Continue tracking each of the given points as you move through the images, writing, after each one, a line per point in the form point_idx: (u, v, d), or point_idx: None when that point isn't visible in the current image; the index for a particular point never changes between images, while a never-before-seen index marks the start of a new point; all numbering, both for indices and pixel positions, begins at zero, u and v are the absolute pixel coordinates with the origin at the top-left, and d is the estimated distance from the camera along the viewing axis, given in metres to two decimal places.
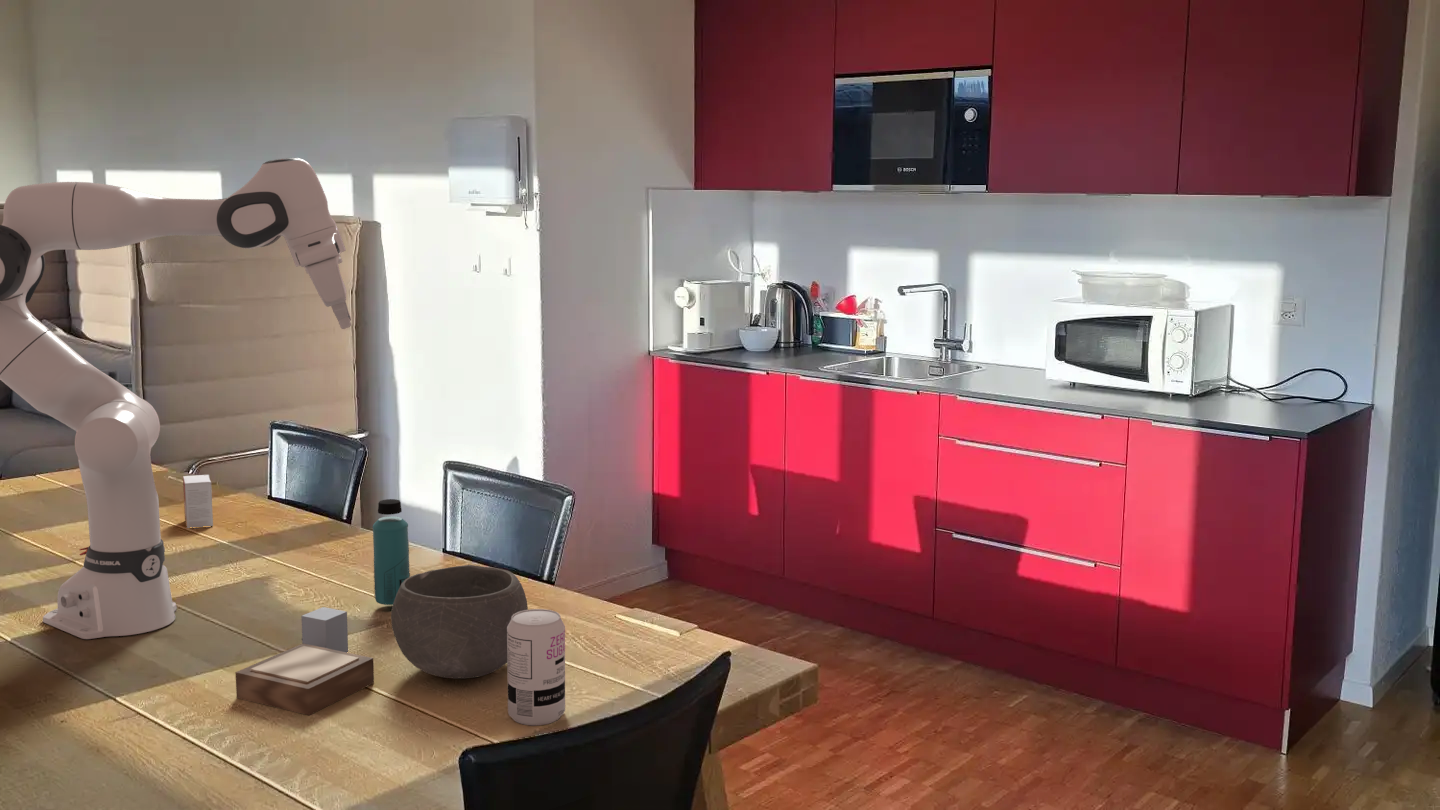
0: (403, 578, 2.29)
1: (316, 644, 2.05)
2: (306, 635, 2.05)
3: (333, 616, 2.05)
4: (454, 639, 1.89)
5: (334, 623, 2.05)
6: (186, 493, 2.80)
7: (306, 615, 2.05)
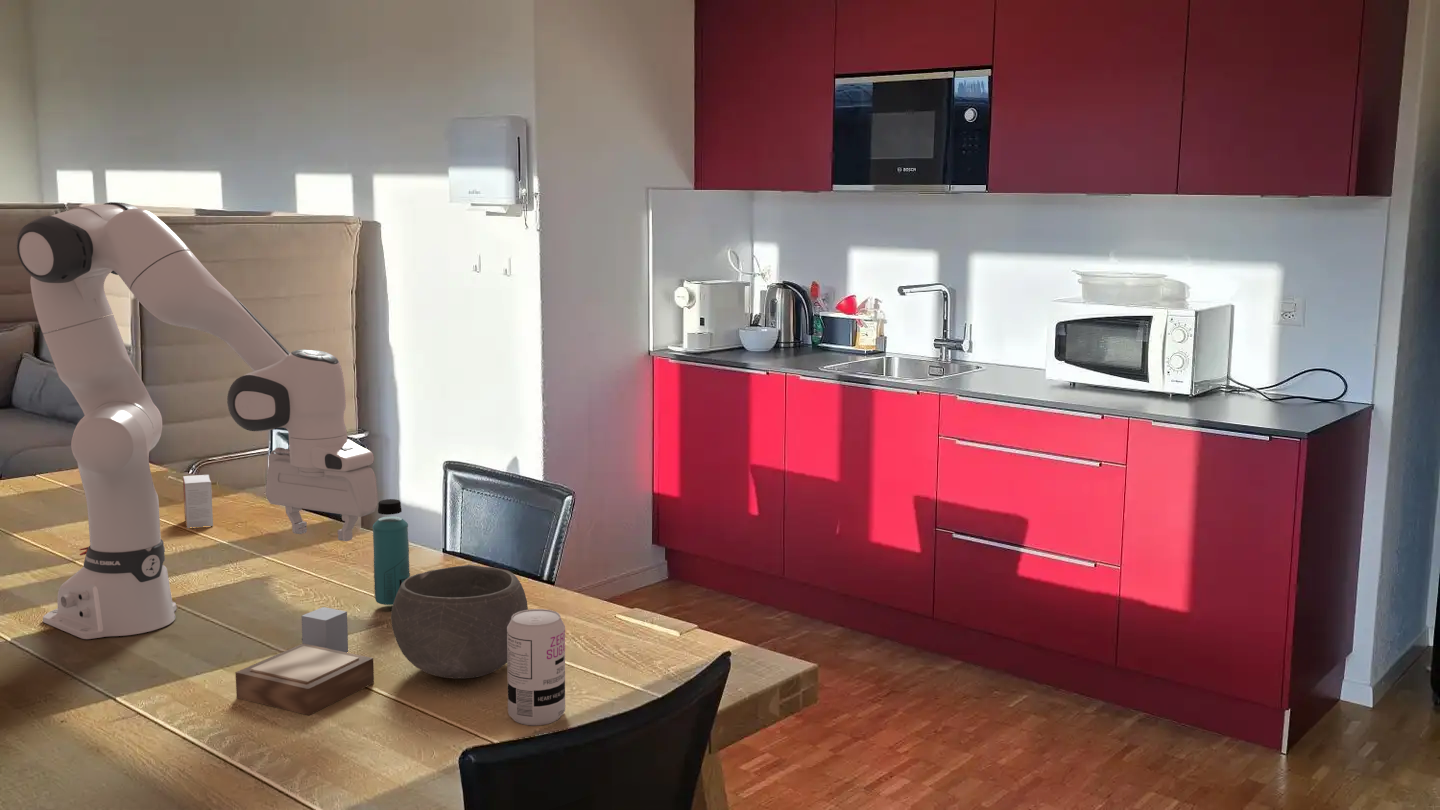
0: (403, 578, 2.29)
1: (316, 644, 2.05)
2: (306, 635, 2.05)
3: (333, 616, 2.05)
4: (454, 639, 1.89)
5: (335, 623, 2.05)
6: (186, 493, 2.80)
7: (306, 615, 2.05)
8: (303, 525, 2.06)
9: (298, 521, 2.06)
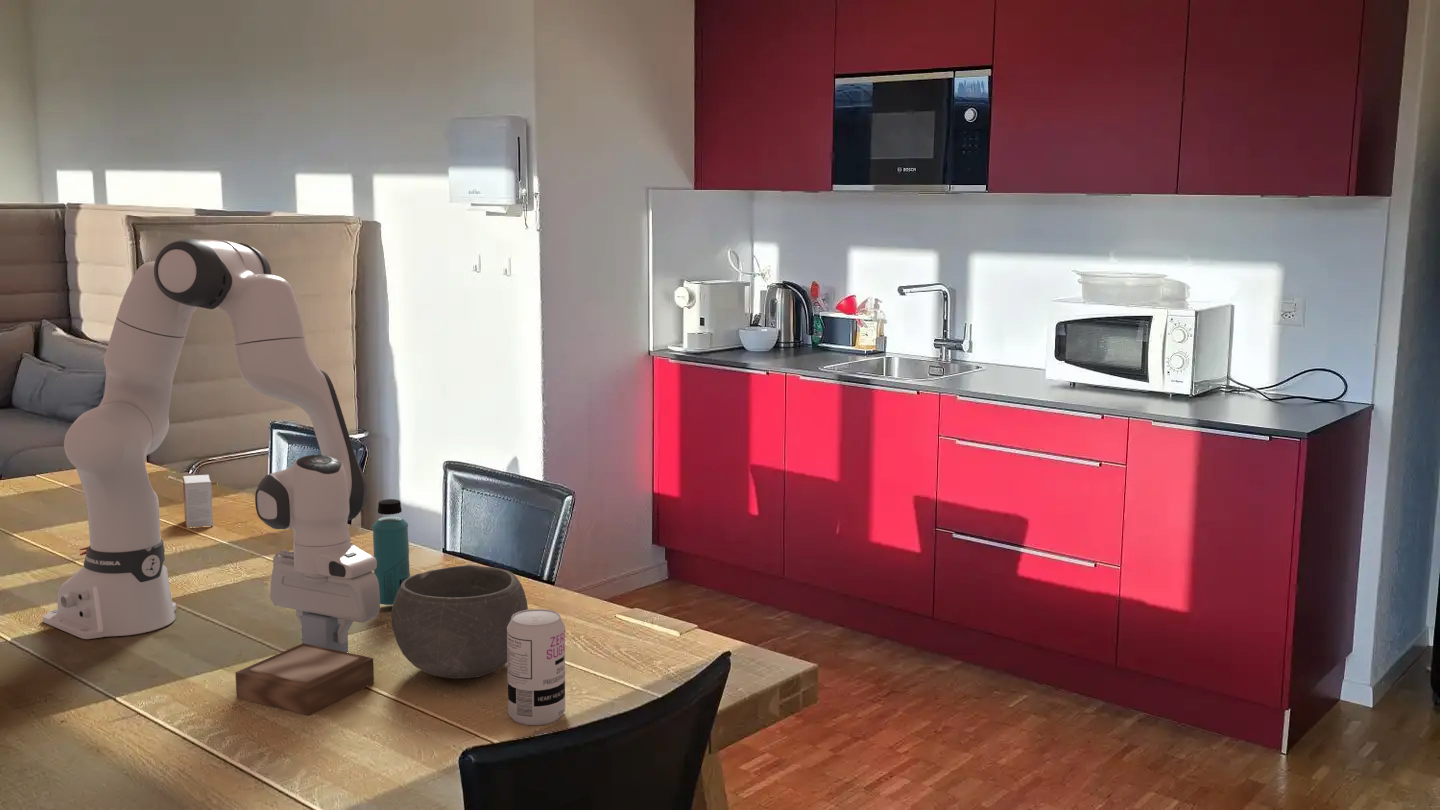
0: (403, 578, 2.29)
1: (316, 644, 2.05)
2: (306, 634, 2.05)
3: None
4: (454, 639, 1.89)
5: (334, 622, 2.05)
6: (186, 493, 2.80)
7: (306, 615, 2.05)
8: None
9: None
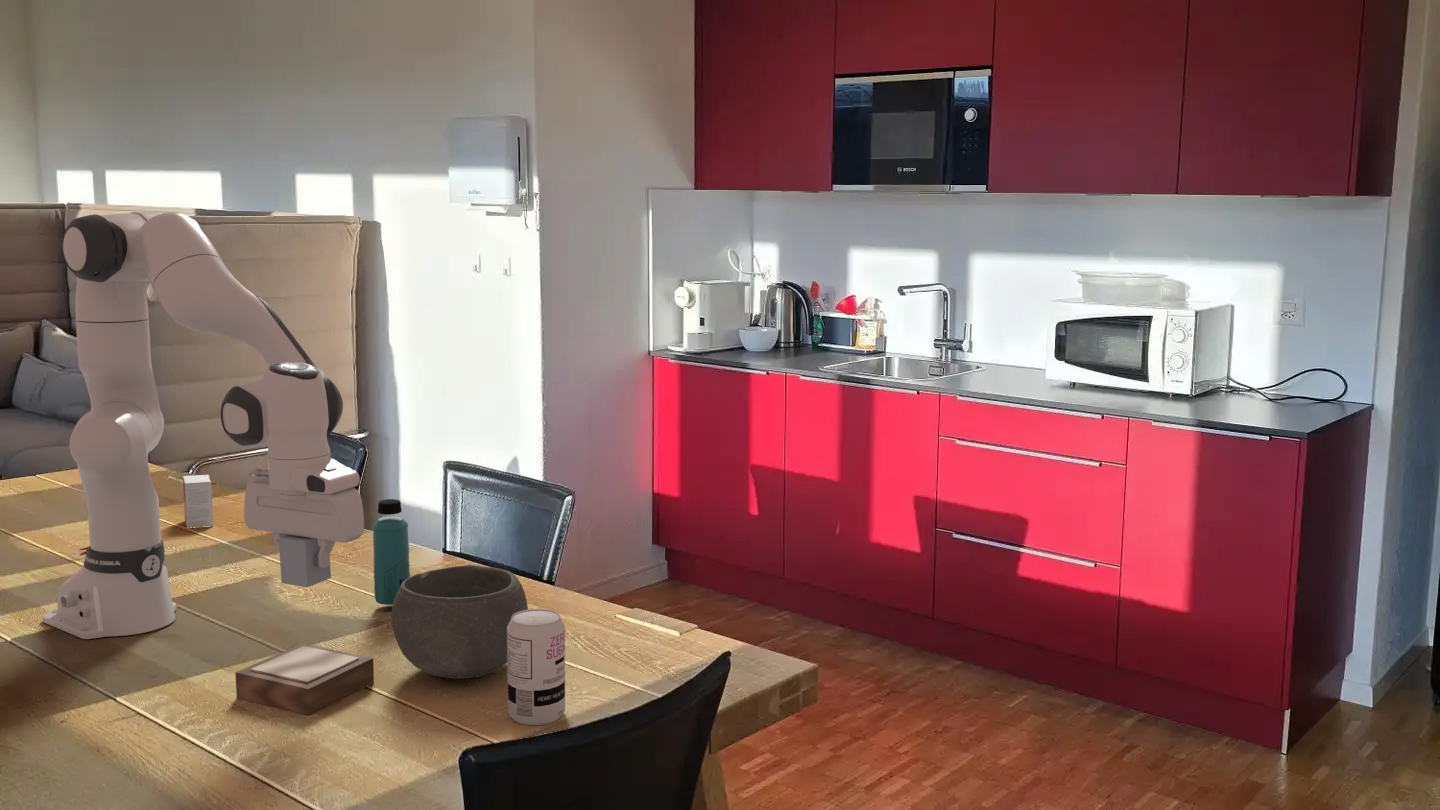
0: (403, 578, 2.29)
1: (295, 568, 1.87)
2: (284, 558, 1.88)
3: None
4: (454, 639, 1.89)
5: (315, 544, 1.88)
6: (186, 493, 2.80)
7: (284, 537, 1.88)
8: None
9: None
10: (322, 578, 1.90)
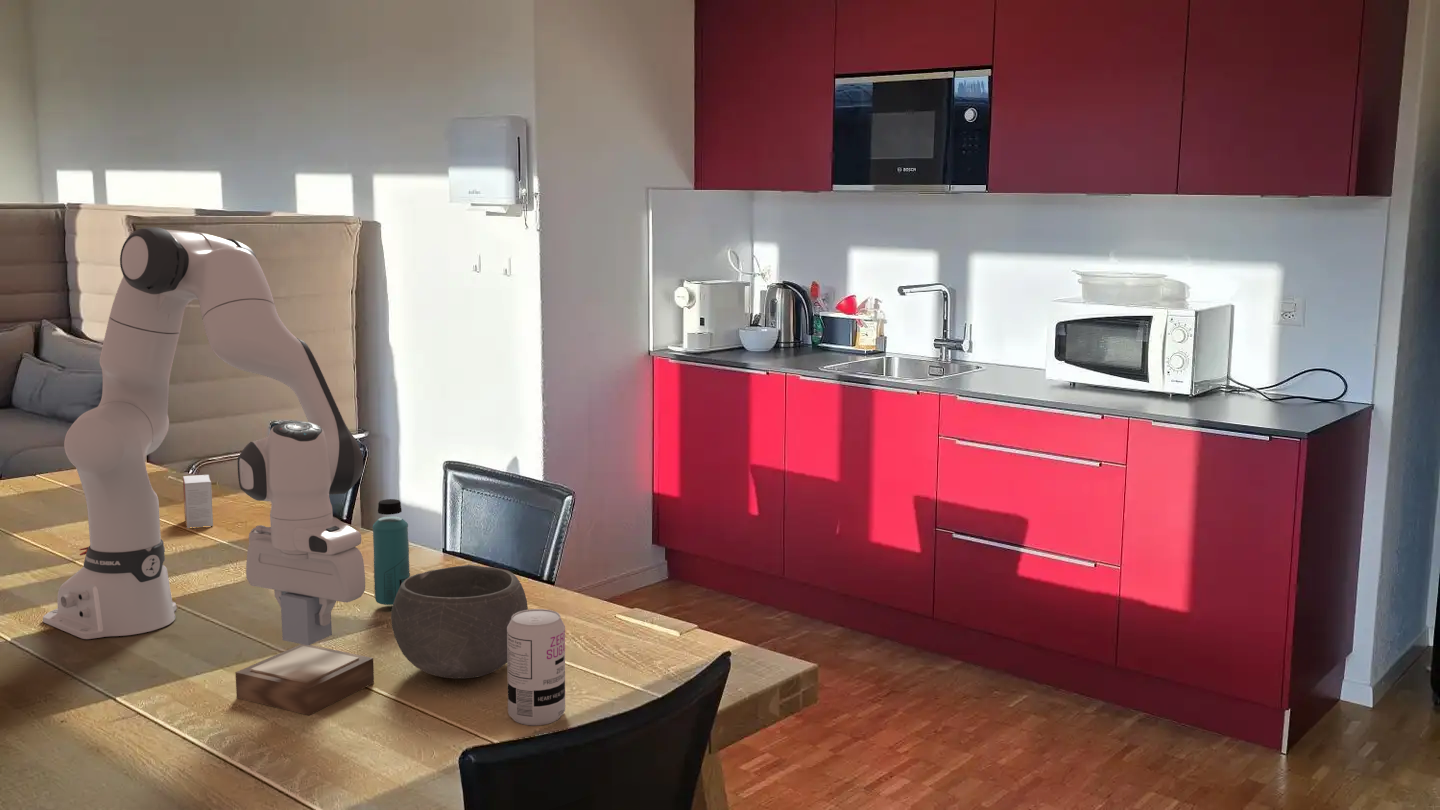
0: (403, 578, 2.29)
1: (297, 626, 1.89)
2: (286, 616, 1.89)
3: None
4: (454, 639, 1.89)
5: (316, 603, 1.89)
6: (186, 493, 2.80)
7: (285, 594, 1.89)
8: None
9: None
10: (323, 635, 1.91)
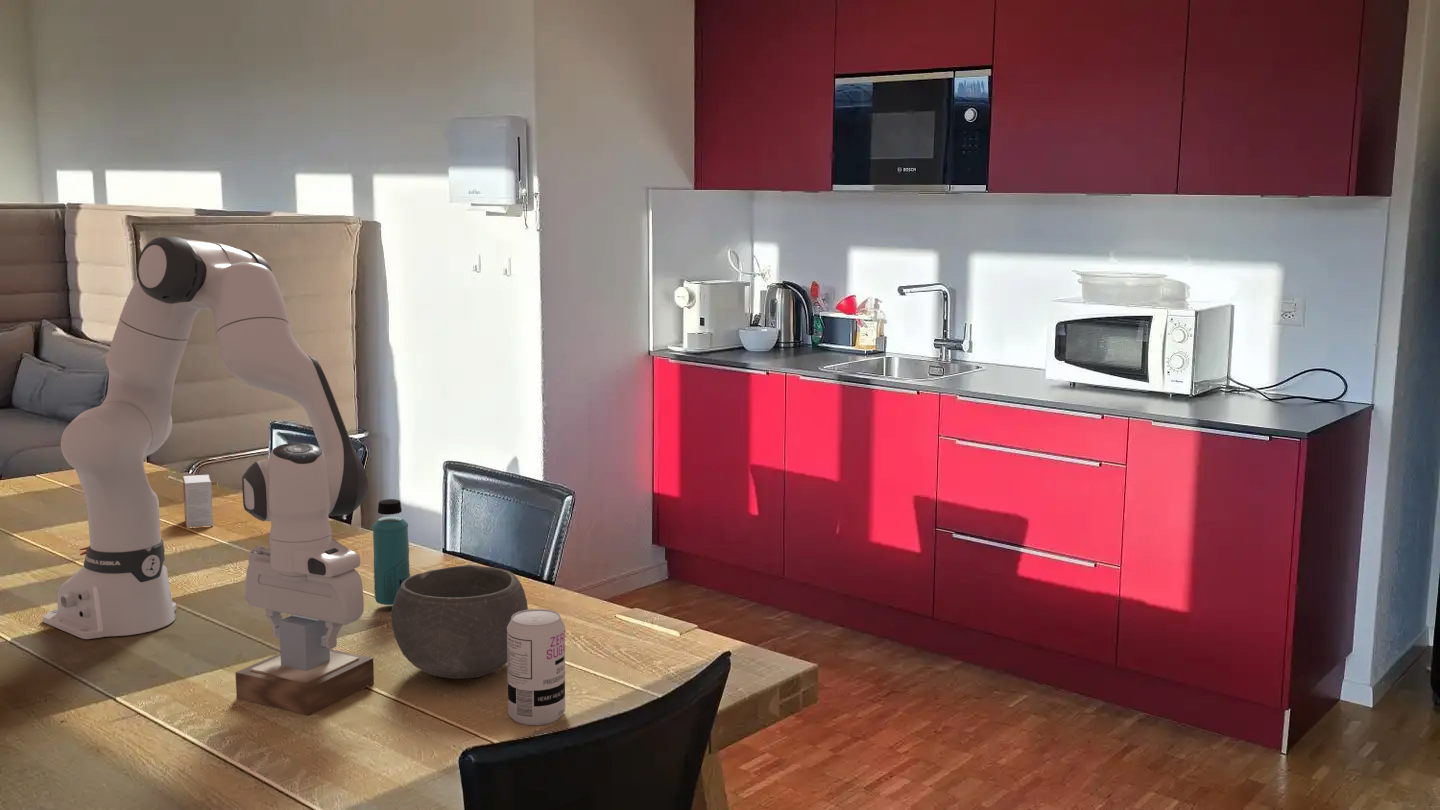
0: (403, 578, 2.29)
1: (295, 651, 1.89)
2: (284, 641, 1.90)
3: (313, 621, 1.89)
4: (454, 639, 1.89)
5: (315, 628, 1.90)
6: (186, 493, 2.80)
7: (284, 620, 1.90)
8: None
9: None
10: (321, 661, 1.91)
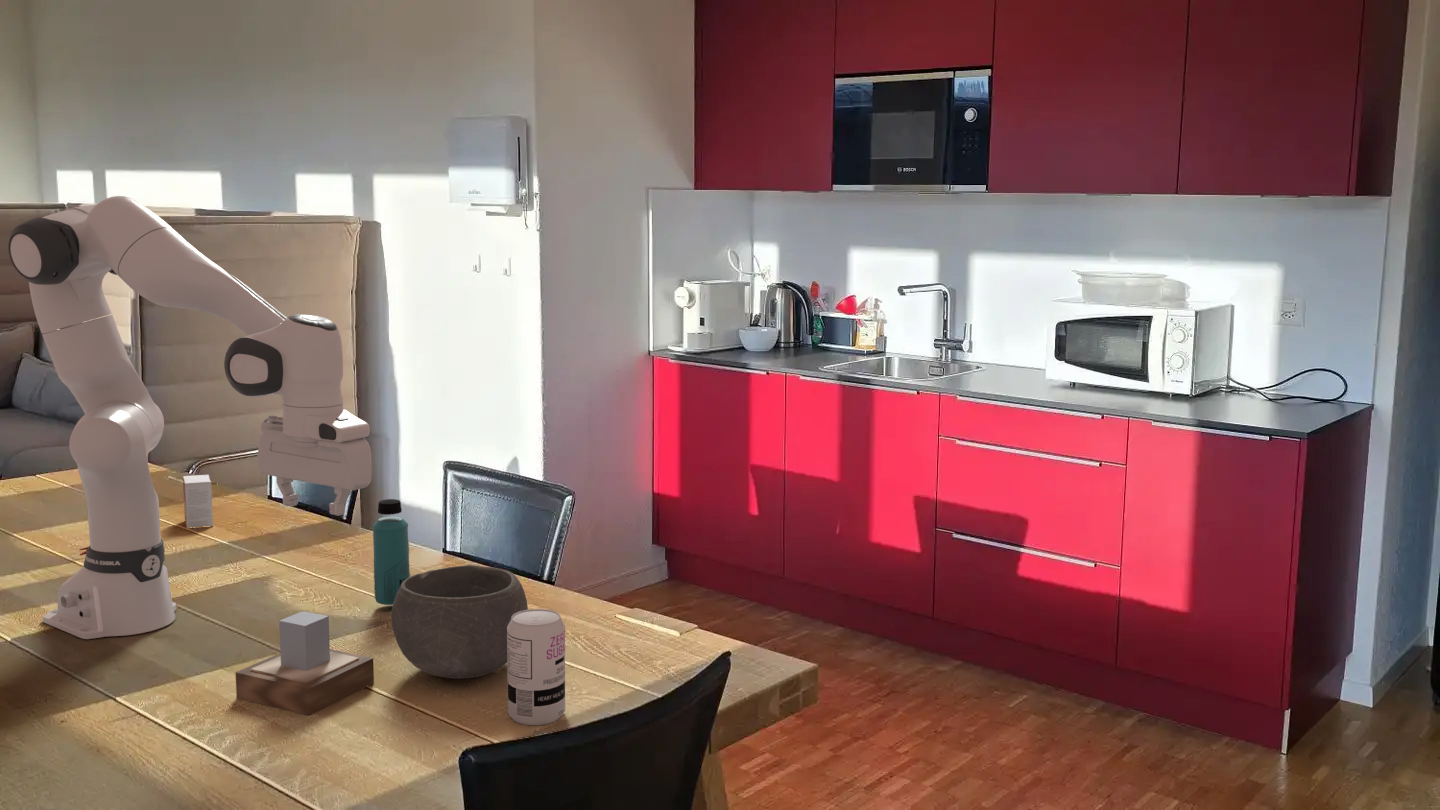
0: (403, 578, 2.29)
1: (295, 651, 1.89)
2: (284, 641, 1.90)
3: (313, 621, 1.89)
4: (454, 639, 1.89)
5: (315, 628, 1.90)
6: (186, 493, 2.80)
7: (284, 620, 1.90)
8: (294, 497, 1.98)
9: (289, 493, 1.98)
10: (321, 661, 1.91)
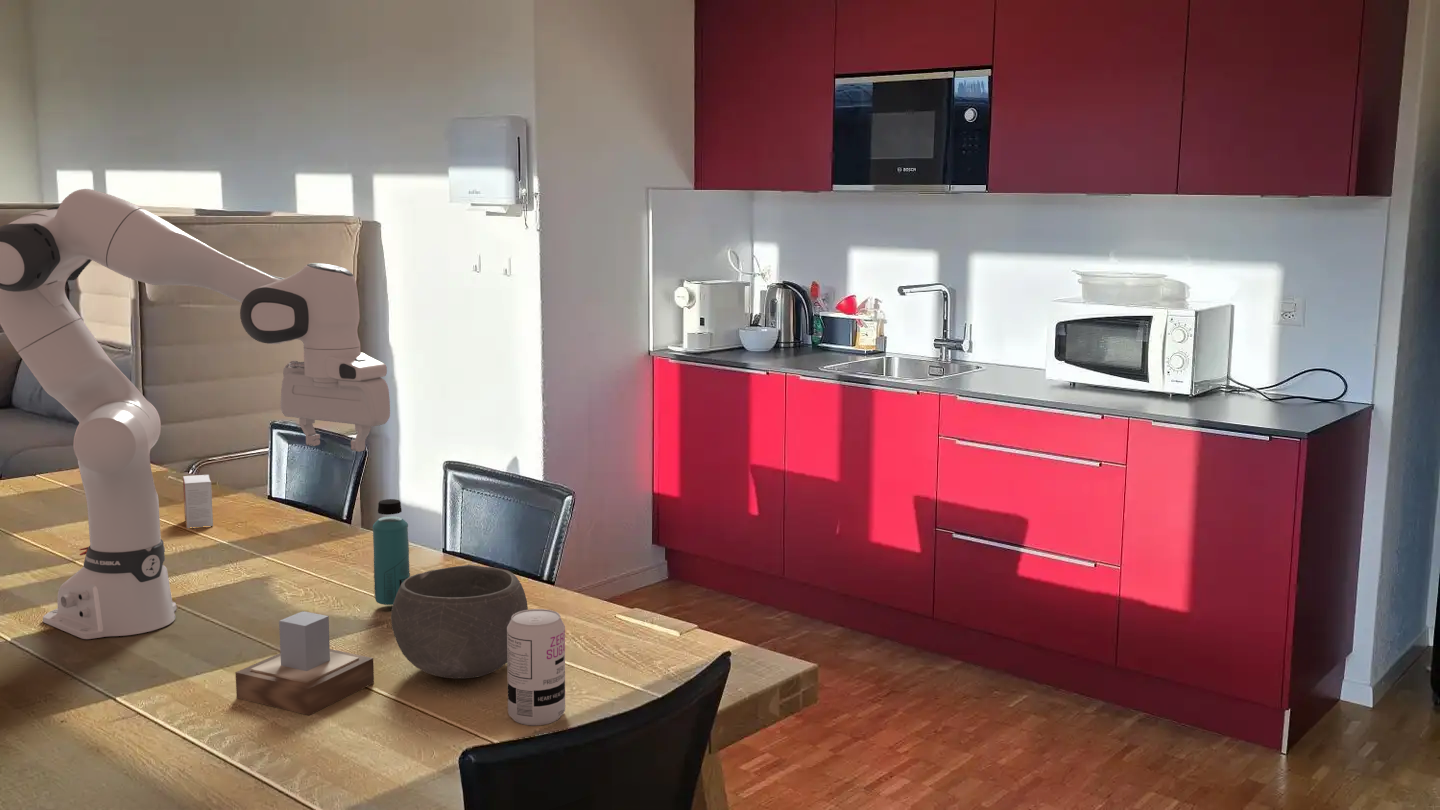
0: (403, 578, 2.29)
1: (295, 651, 1.89)
2: (284, 641, 1.90)
3: (313, 621, 1.89)
4: (454, 639, 1.89)
5: (315, 628, 1.90)
6: (186, 493, 2.80)
7: (284, 620, 1.90)
8: (316, 437, 2.10)
9: (312, 433, 2.10)
10: (321, 661, 1.91)
